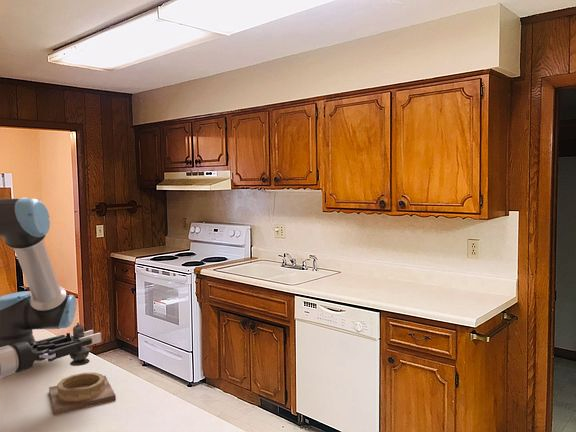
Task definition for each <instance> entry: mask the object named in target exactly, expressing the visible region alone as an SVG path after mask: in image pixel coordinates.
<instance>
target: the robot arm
mask: <svg viewBox="0 0 576 432" xmlns="http://www.w3.org/2000/svg"><path fill="white" fill-rule="evenodd" d="M50 226H51V222H50V214H49V210H48V208H47V206H46V205H45V203H44V202H42V201H41V200H40V199H37V198H29V197H20V198H0V238H2V239H3V240H4V243H5V245H6V246H7V247H8V248H10V249H13V250H14V253H15V255H16V258H17V260H18V263H19V265H20V268H21V270H22V273H23V276H24V278H25V281H26V283H27V286H28V288H29V291H27V290H26V291H17V292H12V293H9V294H4V295H2V296H0V380H3V379H4V378H5V377H7V376H11V375H13V374H15V373H17V374H19V373H21V372H25V371H27V370H28V371H29V370H31V369H32V368H33V366H34V363H35V362H41V361H42V362H43V361H45V360H46V359H47V360H48V361H47V362H50V363H51V362H53V361H55V360H57V359H60V358H61V359H62V358H63V357H67V356H70V354H73V353H76V352H80V351H82V347H88V346H92V345H95V344H99V343H102V332H97V333H94V330H93V329H90V330H87V331H84V336H85V337H82V338H78V340H75V341H73V340H72V338H73V334H71V333H70V332H66V334H61V335H57V336H53V337H49V338H44V339H41V340H40V339H39V340H37V341H36V338H35V336H34V335H33V330H61V329H67V328H69V327H71V325H72V324H73V322H74V319H75V315H76V309H77V299H76V296H75V295H73V294H68V293H67V291H66V289H65V288H64V287H63V286H62V285H61V286H60V285H59V283H58V279H57V277H56V274H55V271H54V267H53V265H52V262H51V257H50V256H49V253H48V250H47V247H46V245H45V242H44V239H46V236H47V233H48V232H49V230H50Z"/></svg>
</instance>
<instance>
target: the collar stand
mask: <svg viewBox="0 0 576 432" xmlns="http://www.w3.org/2000/svg"><path fill="white" fill-rule="evenodd" d="M48 391H49V397H50V400H51V405H52V410H53V414H54V415H55V416H56V415H59V414H63V413H67V412H68V413H69V412H71V411H75V410H80V409H85V408H89V407H92V406H96V405H97V406H98V405H101V404H105V403H110V402H115V401H116V400H117V395H116V394H115V392H114V389H113V387H112V386H111V384H110V382H109V380H108V378H107V376H106V375H104V374H102V373H99V372H81V373H75V374H72V375H69V376H67V377H64V378H62V379H61V380H60V381H59V382H58V383H57V384H56V385H54V386H50V387H48Z"/></svg>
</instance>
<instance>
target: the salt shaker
mask: <svg viewBox="0 0 576 432" xmlns="http://www.w3.org/2000/svg"><path fill="white" fill-rule="evenodd" d="M84 332H85V331H84V326H83V325H82V324H80V323H79V322H77V323H76V325H74V326H73V328H72V335H73V338H72V340H73V341H75V340H78V338H82V337H85V336H84ZM90 351H91V347H88V346H86V347H82V351H80V352H76V353H73V354H70V355H69V358H70V359H72V361H70V362H69V364H70V366H72V367H80V366H84V365H87V364H89V363H90V362H91V361H90V359H89V358H88V356H89V354H90Z"/></svg>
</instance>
